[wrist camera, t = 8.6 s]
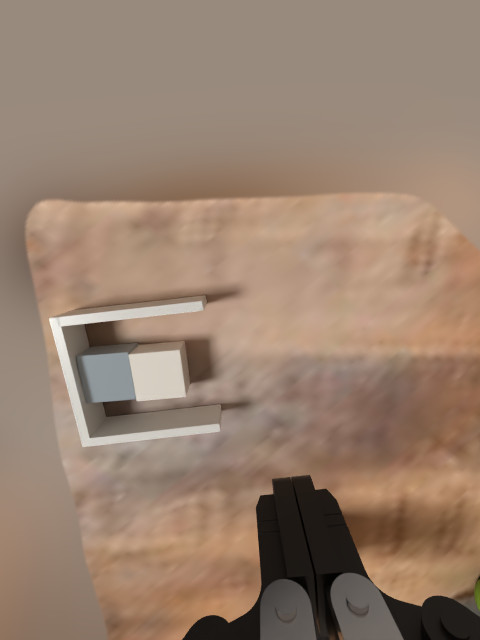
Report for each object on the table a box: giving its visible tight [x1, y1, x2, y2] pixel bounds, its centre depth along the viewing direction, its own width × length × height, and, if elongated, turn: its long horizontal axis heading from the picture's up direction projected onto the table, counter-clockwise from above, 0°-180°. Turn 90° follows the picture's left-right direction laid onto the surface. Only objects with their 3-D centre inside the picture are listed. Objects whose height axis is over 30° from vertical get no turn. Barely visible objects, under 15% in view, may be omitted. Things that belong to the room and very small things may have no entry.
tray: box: [49, 295, 222, 447], centre depth 27 cm, size 13×12×4 cm
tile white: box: [128, 341, 190, 401], centre depth 27 cm, size 4×4×3 cm
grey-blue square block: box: [76, 343, 138, 403], centre depth 27 cm, size 4×4×3 cm
